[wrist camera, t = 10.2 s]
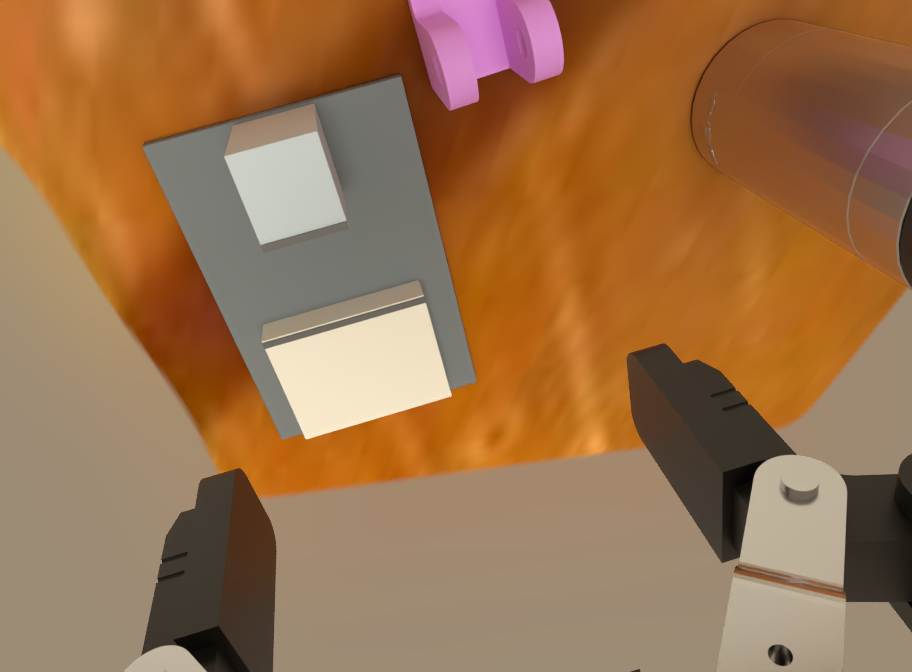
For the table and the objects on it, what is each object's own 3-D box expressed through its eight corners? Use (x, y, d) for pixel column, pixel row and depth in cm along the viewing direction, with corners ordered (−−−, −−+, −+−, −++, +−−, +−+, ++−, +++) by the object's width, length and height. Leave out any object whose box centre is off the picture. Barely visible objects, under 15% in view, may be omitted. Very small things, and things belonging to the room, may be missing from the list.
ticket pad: (399, 74, 37) (406, 84, 35) (474, 377, 49) (483, 399, 46) (144, 143, 36) (133, 159, 34) (282, 434, 48) (281, 460, 46)
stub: (314, 103, 36) (317, 131, 32) (342, 191, 39) (348, 228, 34) (232, 125, 36) (223, 157, 31) (267, 212, 39) (263, 253, 34)
